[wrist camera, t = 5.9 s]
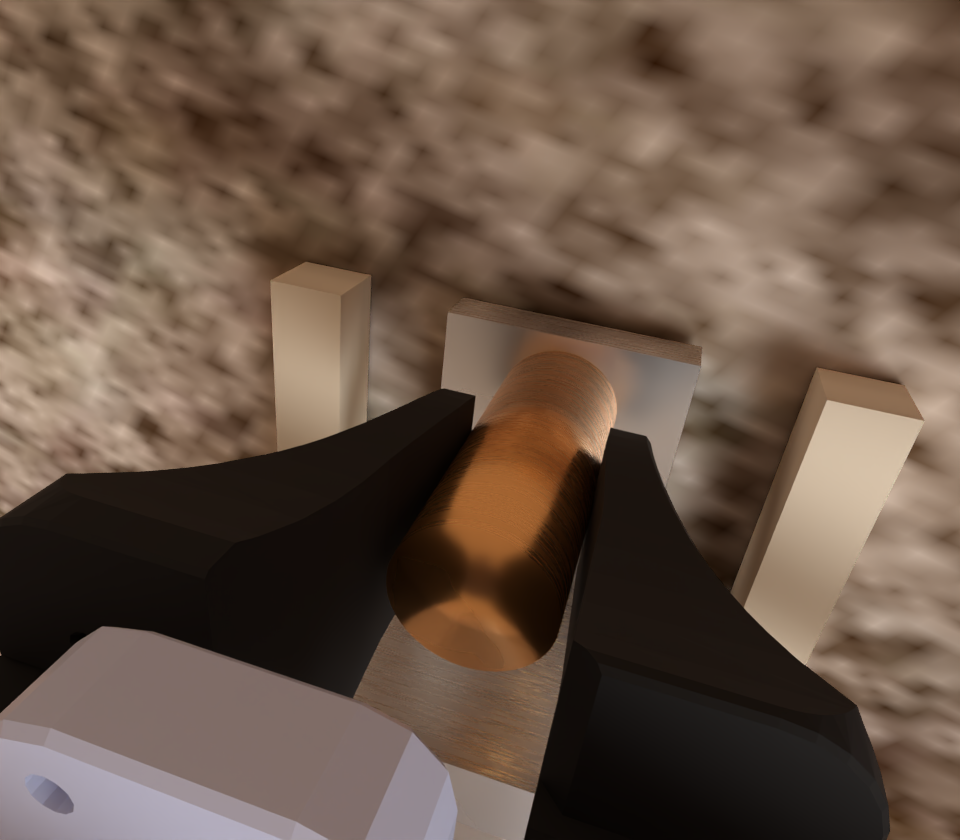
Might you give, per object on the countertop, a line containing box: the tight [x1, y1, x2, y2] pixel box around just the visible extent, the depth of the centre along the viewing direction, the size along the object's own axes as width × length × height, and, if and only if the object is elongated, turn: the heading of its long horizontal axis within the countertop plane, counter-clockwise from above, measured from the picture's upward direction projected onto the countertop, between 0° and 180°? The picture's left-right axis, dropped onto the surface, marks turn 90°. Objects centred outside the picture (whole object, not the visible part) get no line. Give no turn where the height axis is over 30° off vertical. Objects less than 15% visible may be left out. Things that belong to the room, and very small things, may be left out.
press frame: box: [270, 262, 924, 665], centre depth 17 cm, size 20×13×7 cm, turn 174°
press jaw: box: [353, 297, 702, 840], centre depth 13 cm, size 8×9×7 cm
